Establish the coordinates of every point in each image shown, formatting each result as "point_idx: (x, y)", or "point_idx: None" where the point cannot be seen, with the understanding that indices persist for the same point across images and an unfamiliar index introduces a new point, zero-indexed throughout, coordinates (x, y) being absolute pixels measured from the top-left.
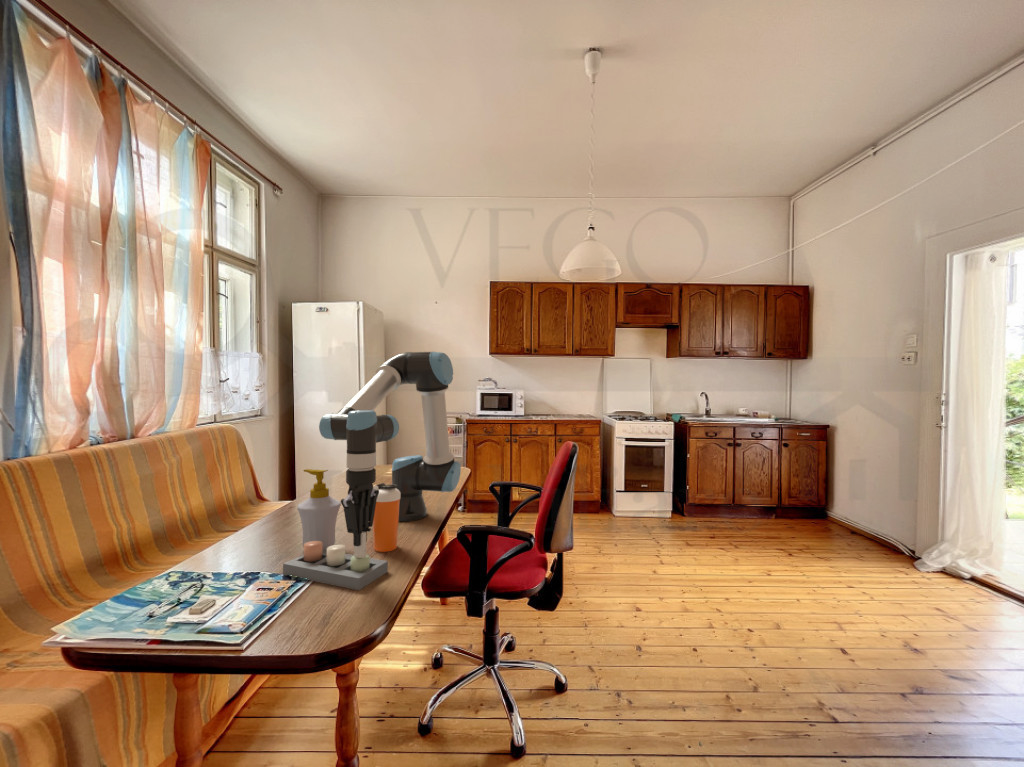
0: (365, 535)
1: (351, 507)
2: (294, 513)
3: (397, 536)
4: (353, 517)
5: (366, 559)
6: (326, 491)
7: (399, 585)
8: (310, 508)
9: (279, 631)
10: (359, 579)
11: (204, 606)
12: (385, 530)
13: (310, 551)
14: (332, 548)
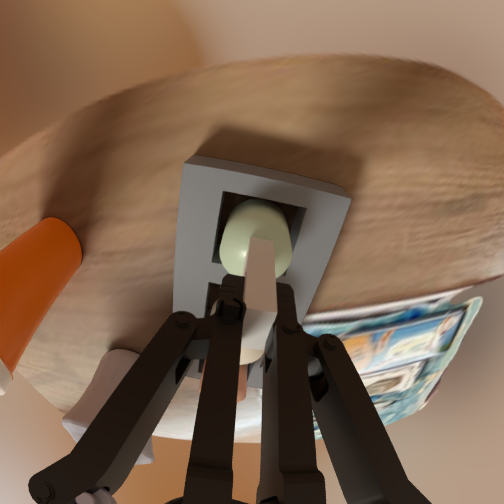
0: (251, 296)
1: (406, 484)
2: (67, 407)
3: (25, 232)
4: (375, 424)
5: (270, 223)
6: None
7: (289, 73)
8: (145, 457)
9: (479, 262)
10: (348, 197)
11: (381, 385)
12: (40, 269)
13: (245, 381)
14: (243, 353)
